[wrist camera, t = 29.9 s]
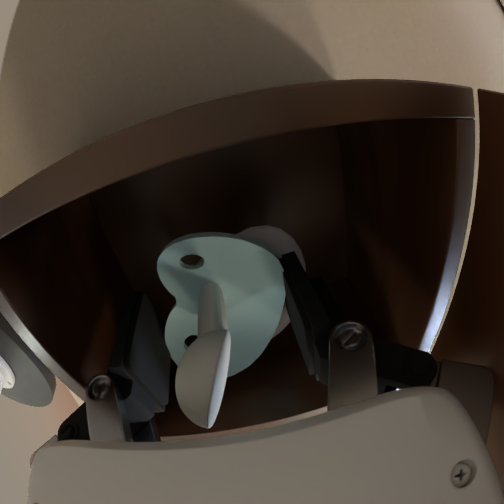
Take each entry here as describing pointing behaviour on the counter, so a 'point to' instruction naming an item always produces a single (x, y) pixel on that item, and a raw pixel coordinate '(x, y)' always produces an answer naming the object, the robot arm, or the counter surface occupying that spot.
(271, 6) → the counter surface
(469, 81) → the counter surface
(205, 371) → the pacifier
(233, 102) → the chest
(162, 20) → the counter surface
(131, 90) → the counter surface
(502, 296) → the lid
